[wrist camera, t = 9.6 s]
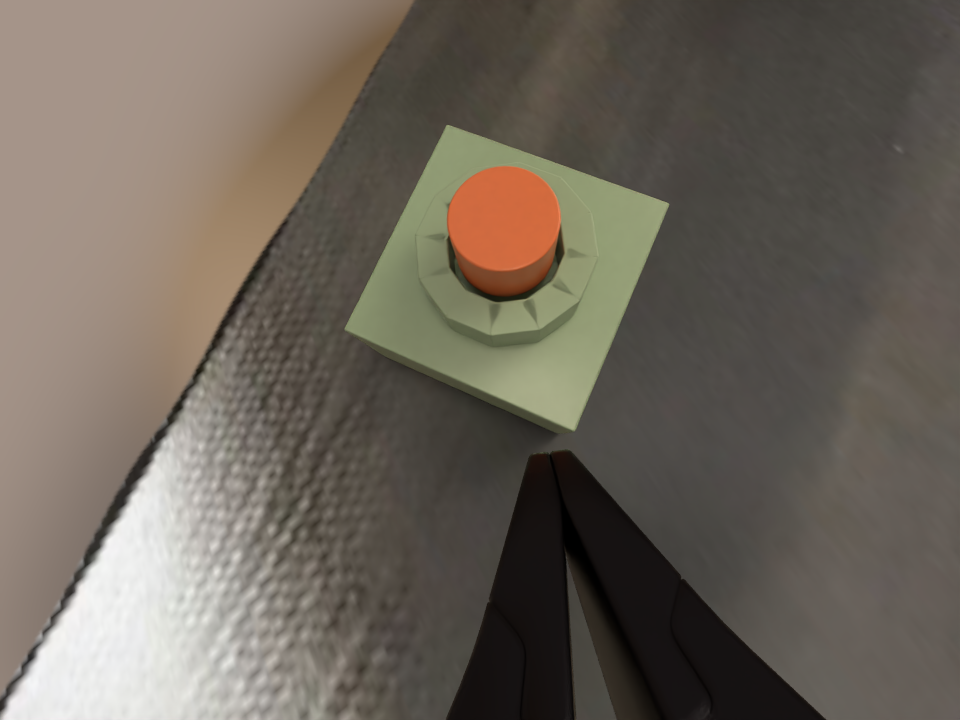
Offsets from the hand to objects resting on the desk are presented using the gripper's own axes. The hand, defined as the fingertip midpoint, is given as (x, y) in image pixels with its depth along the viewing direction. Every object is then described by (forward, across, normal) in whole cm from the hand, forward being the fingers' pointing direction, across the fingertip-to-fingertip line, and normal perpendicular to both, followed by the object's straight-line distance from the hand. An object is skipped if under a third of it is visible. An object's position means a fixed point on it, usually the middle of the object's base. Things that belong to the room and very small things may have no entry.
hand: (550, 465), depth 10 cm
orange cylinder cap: (+9, 0, -1) cm, 10 cm away
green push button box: (+15, 0, +4) cm, 15 cm away
